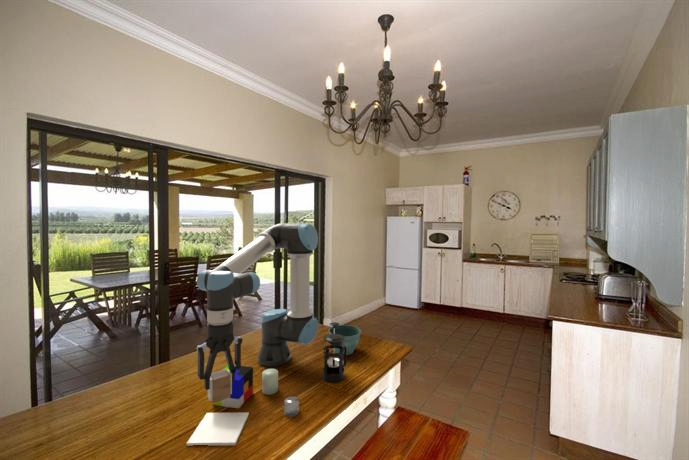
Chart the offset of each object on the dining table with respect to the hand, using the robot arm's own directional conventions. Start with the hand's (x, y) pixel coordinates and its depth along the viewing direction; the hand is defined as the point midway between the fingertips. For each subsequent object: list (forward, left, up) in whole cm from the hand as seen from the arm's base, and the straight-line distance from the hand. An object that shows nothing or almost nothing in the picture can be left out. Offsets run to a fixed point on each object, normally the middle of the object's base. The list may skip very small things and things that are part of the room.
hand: (219, 395), depth 95 cm
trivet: (0, 0, -11) cm, 11 cm away
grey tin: (+6, +22, -11) cm, 25 cm away
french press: (-4, +48, -11) cm, 50 cm away
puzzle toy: (-14, +9, -11) cm, 20 cm away
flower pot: (-21, +67, -11) cm, 71 cm away
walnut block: (0, 0, 0) cm, 0 cm away
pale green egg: (-11, +22, -11) cm, 27 cm away
